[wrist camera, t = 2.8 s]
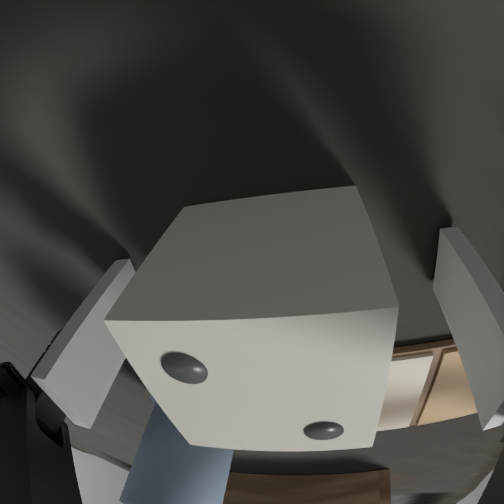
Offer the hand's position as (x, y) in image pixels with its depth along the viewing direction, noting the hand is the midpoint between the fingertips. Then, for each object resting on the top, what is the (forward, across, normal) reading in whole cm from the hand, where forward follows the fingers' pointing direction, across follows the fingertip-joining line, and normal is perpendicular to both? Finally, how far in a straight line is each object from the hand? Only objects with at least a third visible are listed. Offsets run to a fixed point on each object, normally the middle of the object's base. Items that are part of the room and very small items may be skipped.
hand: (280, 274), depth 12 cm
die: (0, 0, 0) cm, 0 cm away
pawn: (0, -6, -9) cm, 11 cm away
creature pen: (0, -1, -31) cm, 31 cm away
